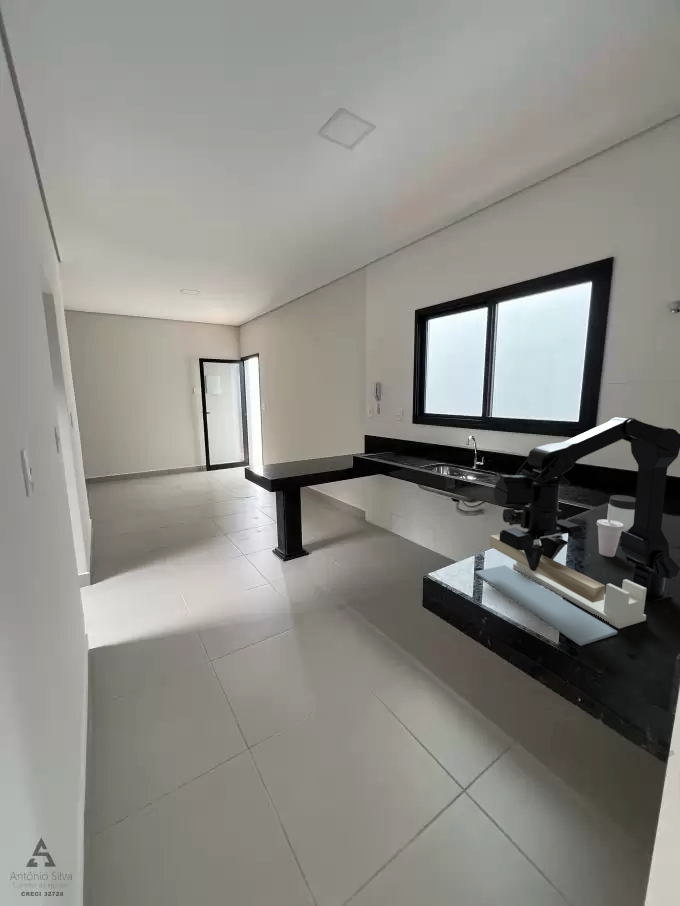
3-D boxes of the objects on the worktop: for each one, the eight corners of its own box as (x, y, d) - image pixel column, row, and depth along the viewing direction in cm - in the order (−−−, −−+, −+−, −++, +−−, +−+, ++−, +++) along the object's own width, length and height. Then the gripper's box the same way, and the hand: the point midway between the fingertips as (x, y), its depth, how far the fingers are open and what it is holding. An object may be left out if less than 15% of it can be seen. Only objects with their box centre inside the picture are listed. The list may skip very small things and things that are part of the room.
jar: (609, 525, 130) (613, 493, 128) (638, 532, 124) (642, 498, 122) (603, 532, 124) (606, 498, 122) (633, 539, 118) (637, 503, 116)
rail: (498, 544, 97) (499, 533, 97) (603, 599, 71) (605, 585, 71) (489, 546, 96) (490, 535, 96) (592, 602, 70) (594, 588, 70)
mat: (504, 567, 101) (504, 565, 101) (617, 633, 73) (617, 631, 73) (474, 573, 97) (474, 571, 97) (580, 645, 69) (580, 642, 69)
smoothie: (609, 549, 111) (614, 505, 109) (626, 558, 105) (631, 511, 102) (588, 549, 111) (593, 505, 109) (604, 559, 104) (609, 512, 102)
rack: (535, 562, 103) (537, 537, 102) (645, 620, 77) (650, 587, 76) (513, 567, 100) (515, 541, 99) (619, 628, 74) (623, 594, 73)
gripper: (544, 490, 92) (540, 549, 94) (484, 498, 86) (481, 561, 88) (587, 503, 81) (580, 568, 84) (521, 513, 75) (516, 583, 78)
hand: (538, 569), depth 84 cm, fingers closed on rail, 3 cm apart
